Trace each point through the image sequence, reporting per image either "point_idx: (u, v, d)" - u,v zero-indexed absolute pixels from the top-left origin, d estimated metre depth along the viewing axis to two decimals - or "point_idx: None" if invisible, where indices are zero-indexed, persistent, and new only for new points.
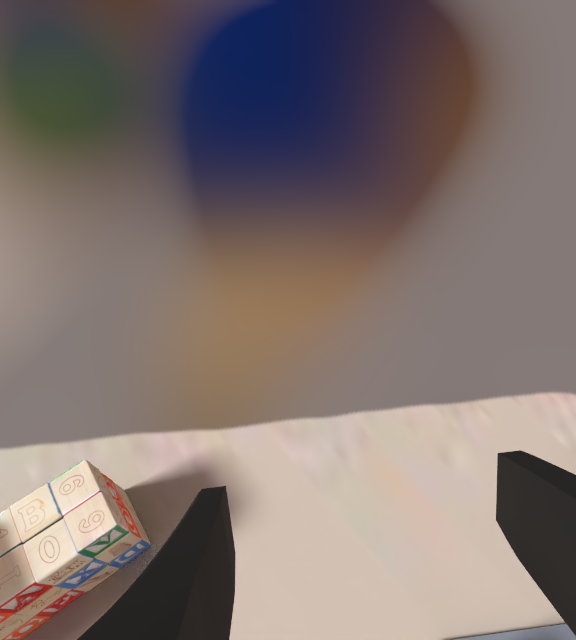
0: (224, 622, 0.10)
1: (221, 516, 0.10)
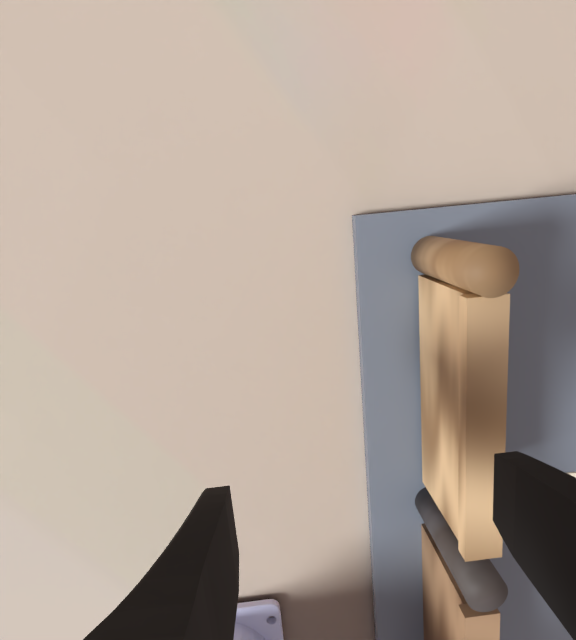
0: (229, 621, 0.10)
1: (225, 515, 0.10)
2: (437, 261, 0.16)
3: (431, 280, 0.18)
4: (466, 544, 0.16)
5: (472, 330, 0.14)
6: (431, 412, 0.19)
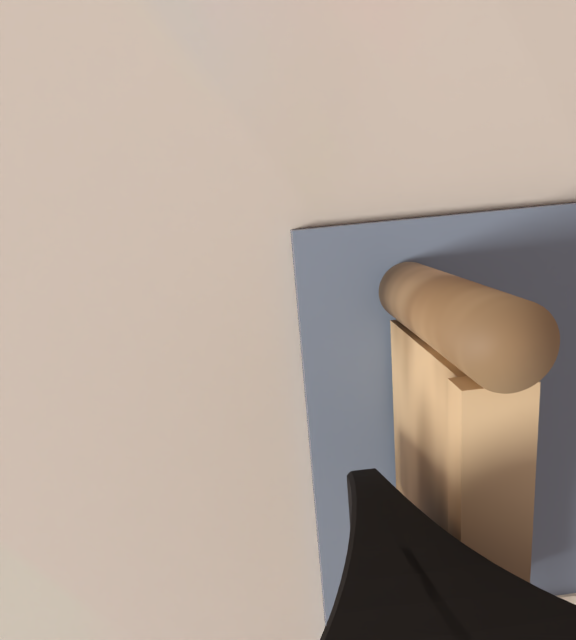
0: None
1: None
2: (413, 312, 0.10)
3: (407, 333, 0.11)
4: None
5: (471, 445, 0.08)
6: None
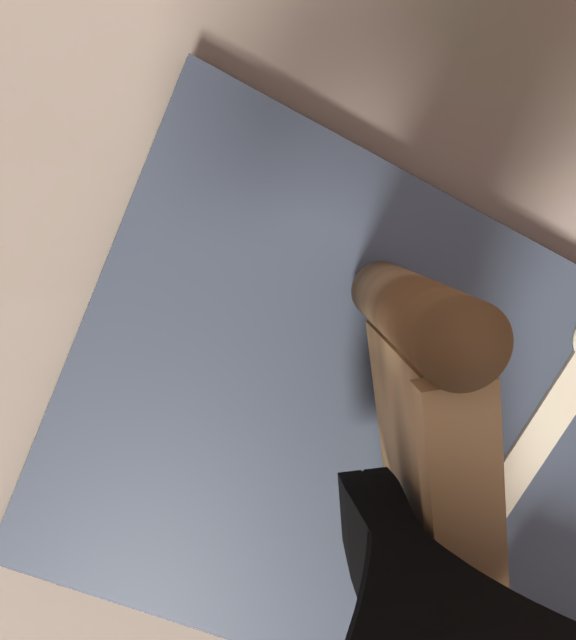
0: None
1: None
2: (378, 314, 0.10)
3: (379, 334, 0.11)
4: None
5: (436, 446, 0.08)
6: None
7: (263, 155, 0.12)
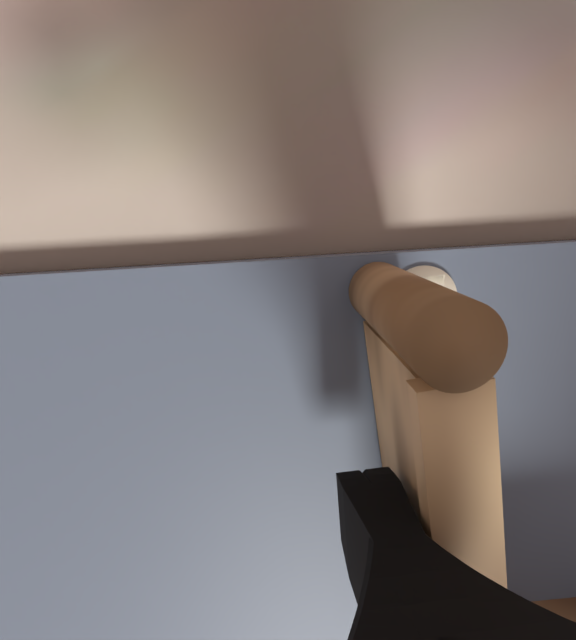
0: None
1: None
2: (374, 315, 0.10)
3: (377, 334, 0.11)
4: None
5: (432, 446, 0.08)
6: None
7: (16, 324, 0.12)
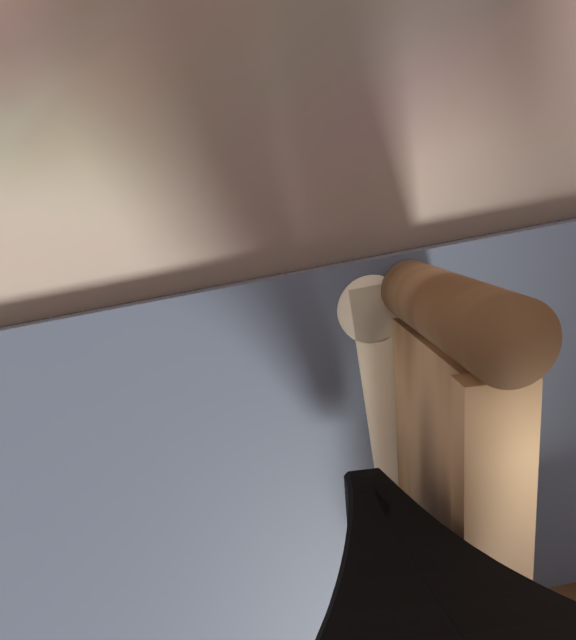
0: None
1: None
2: (416, 310, 0.10)
3: (409, 331, 0.11)
4: None
5: (474, 442, 0.08)
6: None
7: None
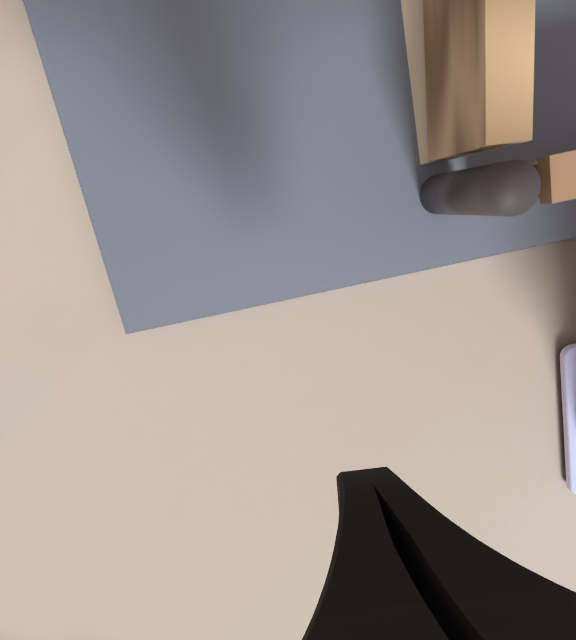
0: None
1: None
2: None
3: None
4: (486, 117, 0.13)
5: None
6: (437, 31, 0.16)
7: None
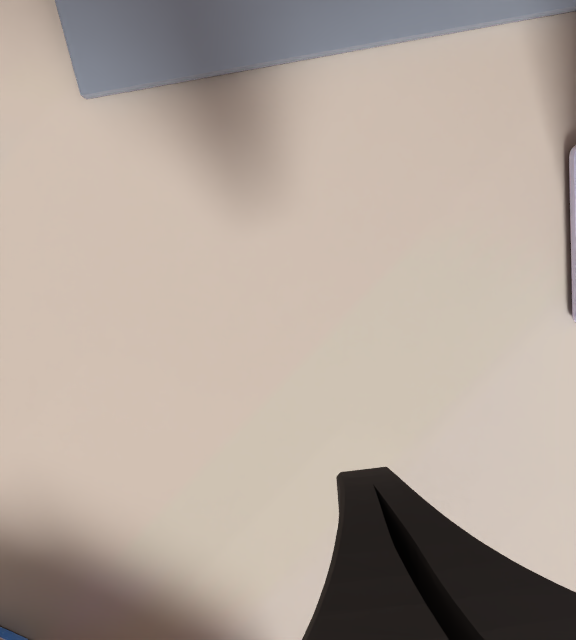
0: None
1: None
2: None
3: None
4: None
5: None
6: None
7: None
